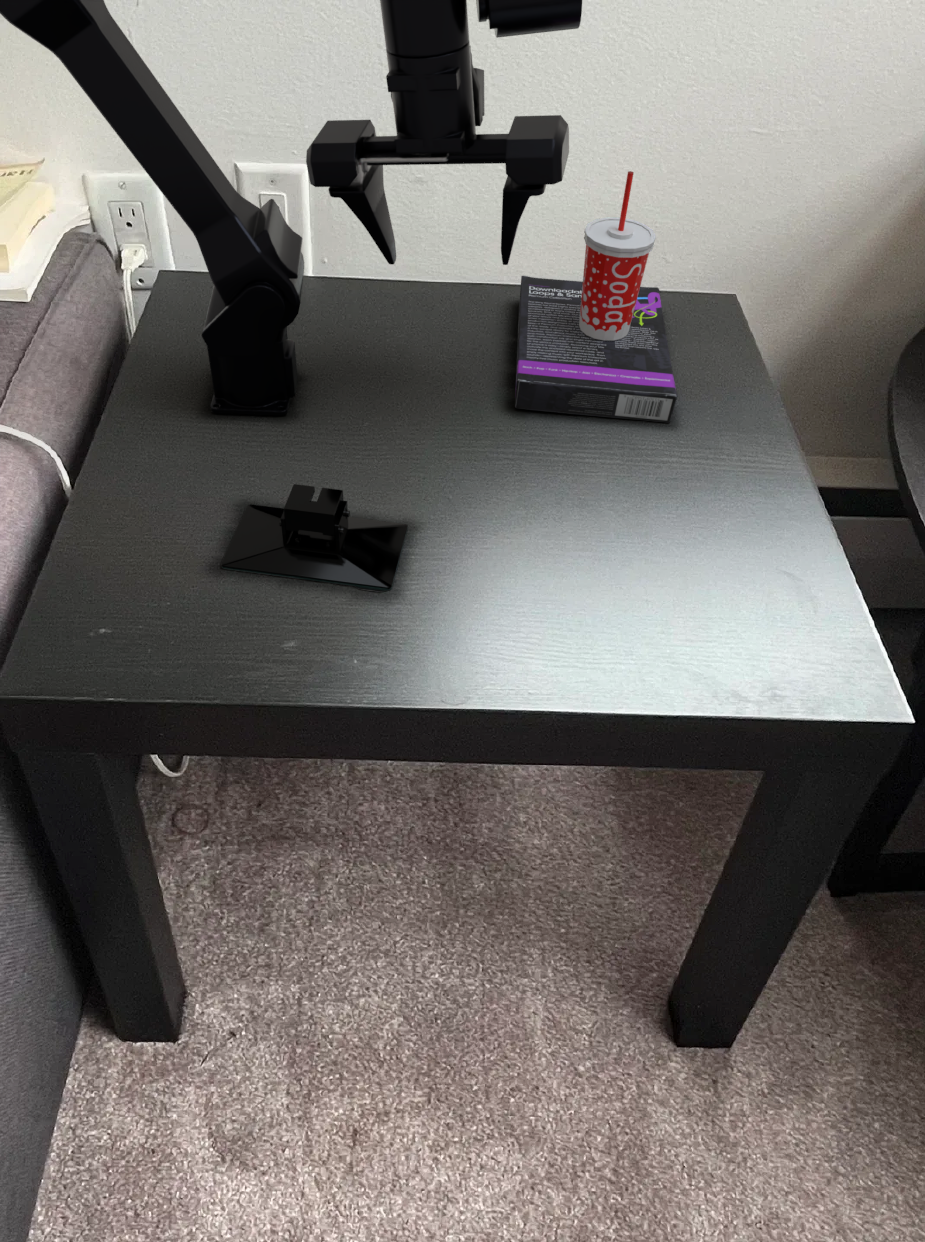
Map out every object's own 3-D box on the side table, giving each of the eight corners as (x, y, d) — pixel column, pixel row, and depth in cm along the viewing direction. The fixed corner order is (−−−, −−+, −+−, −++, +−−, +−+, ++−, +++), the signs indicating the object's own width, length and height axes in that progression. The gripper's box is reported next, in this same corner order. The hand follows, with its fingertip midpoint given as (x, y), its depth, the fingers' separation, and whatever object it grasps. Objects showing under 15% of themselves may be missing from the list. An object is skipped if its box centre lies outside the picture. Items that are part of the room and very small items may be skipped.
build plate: (408, 529, 74) (409, 480, 71) (390, 595, 69) (391, 546, 66) (248, 507, 75) (242, 457, 72) (219, 571, 70) (211, 521, 67)
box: (669, 429, 86) (655, 315, 99) (678, 395, 84) (662, 282, 97) (511, 414, 86) (518, 301, 99) (515, 379, 83) (522, 269, 97)
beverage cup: (569, 341, 88) (592, 183, 78) (571, 308, 93) (594, 154, 82) (637, 348, 88) (669, 191, 78) (636, 314, 92) (666, 161, 82)
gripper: (576, 2, 70) (576, 216, 82) (327, 13, 74) (360, 217, 85) (559, 55, 63) (562, 282, 74) (284, 64, 66) (326, 280, 78)
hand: (448, 262), depth 78 cm, fingers open, 9 cm apart
